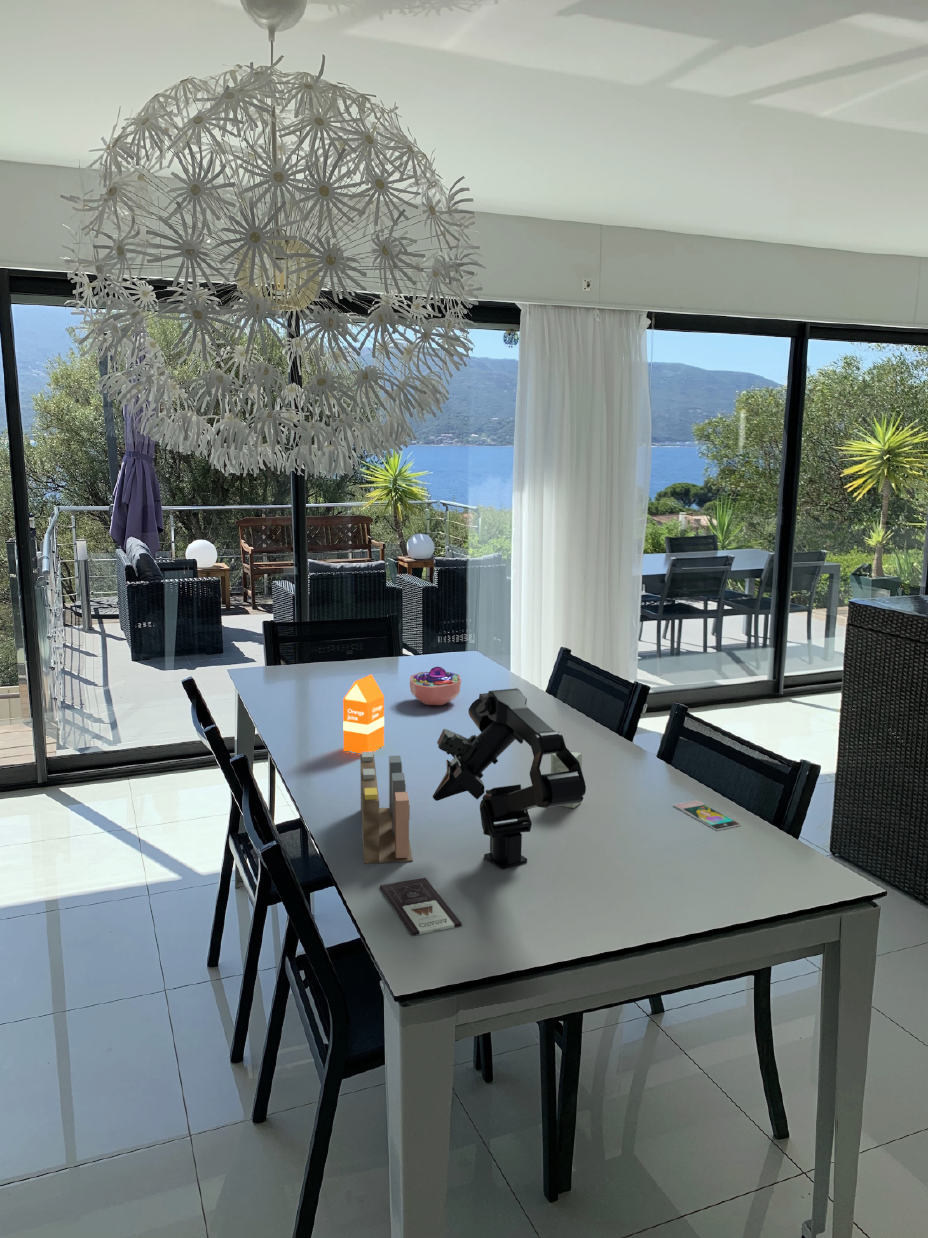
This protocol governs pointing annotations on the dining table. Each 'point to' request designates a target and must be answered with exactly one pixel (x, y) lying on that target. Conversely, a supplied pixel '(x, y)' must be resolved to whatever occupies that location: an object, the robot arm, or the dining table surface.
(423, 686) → the cell model
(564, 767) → the skincare box
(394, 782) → the middle slate key
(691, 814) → the smartphone
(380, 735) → the orange juice
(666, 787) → the dining table surface
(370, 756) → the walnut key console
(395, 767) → the key
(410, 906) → the chocolate bar
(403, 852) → the terracotta key
